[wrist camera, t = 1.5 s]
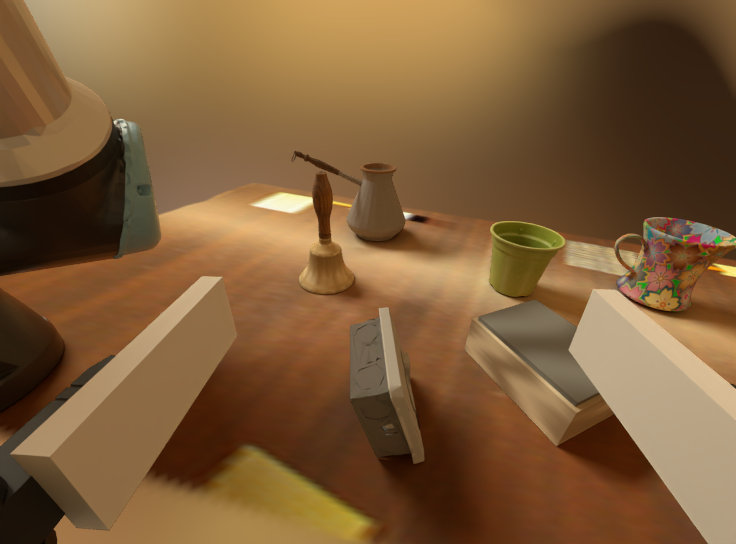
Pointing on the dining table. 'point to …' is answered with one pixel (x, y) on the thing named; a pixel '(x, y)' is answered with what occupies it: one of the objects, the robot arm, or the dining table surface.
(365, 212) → the coffee pot
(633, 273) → the mug
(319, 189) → the hand bell
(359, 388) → the electrical switch
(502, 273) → the plant pot
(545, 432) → the birch stand
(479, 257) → the dining table surface
